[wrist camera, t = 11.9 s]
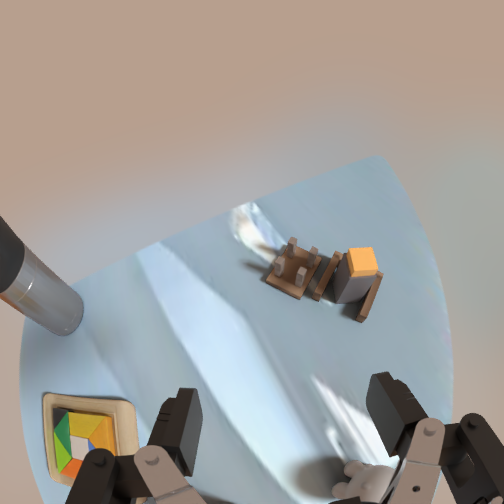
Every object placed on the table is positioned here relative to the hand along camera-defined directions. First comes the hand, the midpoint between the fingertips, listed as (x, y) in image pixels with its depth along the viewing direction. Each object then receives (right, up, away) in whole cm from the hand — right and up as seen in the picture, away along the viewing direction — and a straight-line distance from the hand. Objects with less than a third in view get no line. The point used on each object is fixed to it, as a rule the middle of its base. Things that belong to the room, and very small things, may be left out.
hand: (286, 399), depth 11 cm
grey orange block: (+14, 0, +32) cm, 34 cm away
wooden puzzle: (-27, -25, +19) cm, 41 cm away
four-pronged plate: (+5, +3, +34) cm, 35 cm away
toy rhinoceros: (+15, -26, +15) cm, 34 cm away
